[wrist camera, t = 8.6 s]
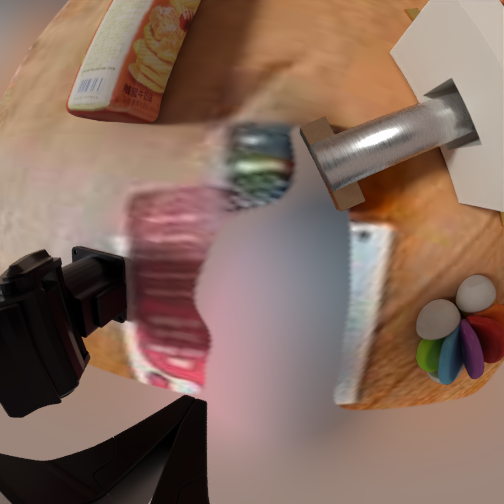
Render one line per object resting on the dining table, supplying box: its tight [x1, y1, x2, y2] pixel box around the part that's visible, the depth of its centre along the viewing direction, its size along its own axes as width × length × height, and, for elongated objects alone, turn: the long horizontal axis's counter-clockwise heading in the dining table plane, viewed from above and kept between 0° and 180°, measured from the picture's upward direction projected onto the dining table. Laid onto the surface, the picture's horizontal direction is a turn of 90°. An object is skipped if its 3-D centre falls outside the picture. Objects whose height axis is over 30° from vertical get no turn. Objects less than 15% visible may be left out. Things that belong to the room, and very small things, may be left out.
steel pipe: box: [300, 8, 504, 226], centre depth 13 cm, size 19×21×6 cm
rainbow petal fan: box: [416, 275, 504, 385], centre depth 16 cm, size 8×10×7 cm
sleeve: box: [390, 0, 504, 212], centre depth 10 cm, size 6×13×10 cm, turn 26°
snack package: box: [66, 0, 201, 124], centre depth 13 cm, size 21×7×7 cm, turn 165°
